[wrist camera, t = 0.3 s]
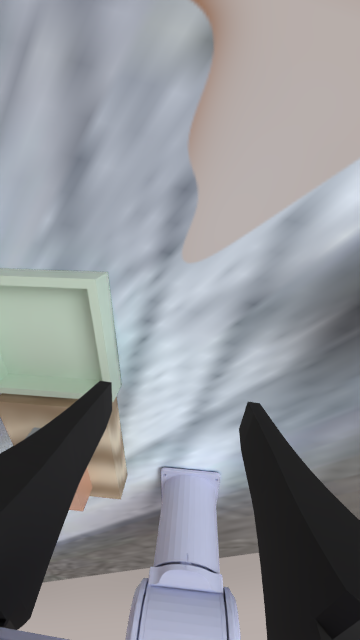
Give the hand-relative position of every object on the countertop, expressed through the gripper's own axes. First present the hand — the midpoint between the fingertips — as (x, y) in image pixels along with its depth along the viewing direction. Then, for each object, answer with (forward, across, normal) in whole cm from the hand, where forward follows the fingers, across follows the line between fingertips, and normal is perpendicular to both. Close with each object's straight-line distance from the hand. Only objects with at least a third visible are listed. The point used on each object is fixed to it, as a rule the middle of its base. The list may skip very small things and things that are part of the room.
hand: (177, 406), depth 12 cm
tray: (+10, +14, +3) cm, 17 cm away
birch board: (+10, +12, +18) cm, 24 cm away
